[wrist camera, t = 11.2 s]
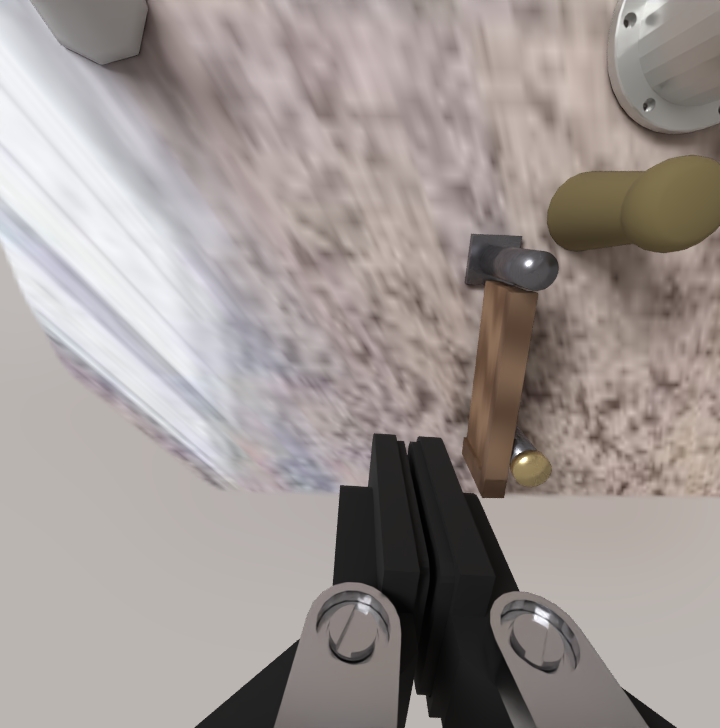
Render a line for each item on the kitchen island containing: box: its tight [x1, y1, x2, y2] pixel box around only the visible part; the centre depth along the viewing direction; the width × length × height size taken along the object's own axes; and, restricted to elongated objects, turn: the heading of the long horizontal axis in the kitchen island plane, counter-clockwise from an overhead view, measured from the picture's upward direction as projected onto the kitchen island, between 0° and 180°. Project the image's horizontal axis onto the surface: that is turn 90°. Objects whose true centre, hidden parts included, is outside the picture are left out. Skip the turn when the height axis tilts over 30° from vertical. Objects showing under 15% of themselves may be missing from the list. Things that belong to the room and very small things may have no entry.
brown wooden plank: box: [462, 281, 538, 498], centre depth 31 cm, size 17×2×6 cm, turn 179°
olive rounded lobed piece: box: [547, 155, 720, 253], centre depth 25 cm, size 6×6×11 cm
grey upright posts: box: [465, 234, 559, 487], centre depth 30 cm, size 7×19×9 cm, turn 178°
